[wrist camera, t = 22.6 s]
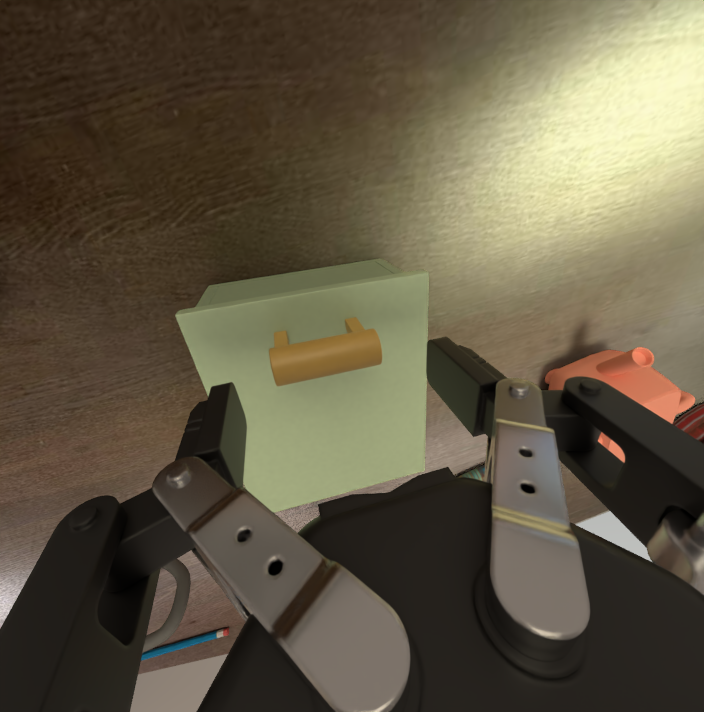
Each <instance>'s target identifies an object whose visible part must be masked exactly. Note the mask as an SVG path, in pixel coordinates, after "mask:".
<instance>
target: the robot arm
mask: <svg viewBox="0 0 704 712" xmlns="http://www.w3.org/2000/svg"><path fill="white" fill-rule="evenodd" d="M426 375H427V379H428V382H429V384H430V385H431V387H432V388H433V389H434V390H435V391H436V393H437V394H438V395H439V396H440V397H441V399H442V400H443V401H444V402H445V403H446V405H447V406H448V407H449V408H450V409H451V411H452V412H453V413H454V414H455V415H456V416H457V418H458V419H459V420H460V421H461V422H462V424H463V425H464V426H465V427H466V428H467V430H468V431H469V432H470V433H471V434H472V436H473V437H474V436H478V435H482V434H486V435H487V436H488V440H487V448H486V461H485V474H484V481H481V480H478V479H473V478H467V477H454V475H453V474H452V472H451V471H450V469H449V467H446V468H443V469H439V470H436V471H432V472H429V473H425V474H422V475H418V476H416V477H415V478H413V479H411V480H410V481H408V482H406V483H405V484H403V485H401V486H399V487H398V488H396V489H394V490H393V491H391V492H388V493H375V494H355V495H349V496H345V497H342V498H338V499H335V500H331V501H328V502H324V503H321V504H318V506H319V512H320V516H318V517H317V518H315V519H313V520H312V521H311V522H309V523H308V524H307V525H306V526H305V527H303V528H302V529H301V530H300V531H299V532H298V533H296V532H295V531H294V530H293V529H292V528H291V527H289V526H288V525H287V524H286V523H285V522H284V521H282V520H281V519H280V518H279V517H278V516H277V515H275V514H274V513H273V512H272V511H271V510H270V509H268V508H267V507H266V506H265V505H264V504H263V503H261V502H260V501H259V500H258V499H257V498H256V497H255V496H253V495H252V494H251V493H250V492H249V491H248V490H246V489H245V488H244V487H243V476H244V463H245V449H246V435H247V422H246V417H245V413H244V410H243V408H242V405H241V402H240V399H239V396H238V394H237V391H236V388H235V385H234V384H233V382H229V383H225V384H220V385H215V386H212V387H211V389H210V393H209V397H208V400H207V401H203V402H199V403H198V404H197V406H196V407H195V408H194V409H193V410H192V411H191V413H190V416H189V419H188V422H187V423H188V424H187V425H186V428H185V433H184V434H183V437H182V440H181V443H180V446H179V449H178V453H177V456H176V459H175V461H174V462H172V463H171V464H169V465H168V466H166V467H165V468H164V469H163V470H161V471H160V473H159V474H158V475H157V476H156V478H155V480H154V482H153V485H152V488H151V489H149V490H147V491H145V492H143V493H141V494H139V495H137V496H135V497H133V498H131V499H129V500H127V501H125V502H123V503H121V504H120V503H119V502H118V501H117V499H116V498H115V497H113V496H100V497H96V498H93V499H91V500H88V501H86V502H85V503H83V504H81V505H79V506H78V507H76V508H75V509H74V510H72V511H71V512H70V513H69V514H68V515H66V516H65V517H64V518H63V519H62V520H61V522H60V523H59V524H58V526H57V527H56V529H55V530H54V532H53V534H52V536H51V538H50V539H49V541H48V543H47V545H46V547H45V549H44V550H43V552H42V554H41V556H40V558H39V559H38V561H37V563H36V565H35V567H34V569H33V570H32V572H31V574H30V576H29V578H28V579H27V581H26V583H25V585H24V587H23V589H22V590H21V592H20V594H19V596H18V598H17V600H16V601H15V603H14V605H13V607H12V609H11V610H10V612H9V614H8V616H7V618H6V620H5V621H4V623H3V625H2V627H1V629H0V712H130V708H131V704H132V699H133V694H134V690H135V685H136V680H137V676H138V671H139V666H140V662H141V657H142V652H143V648H144V643H145V638H146V634H147V629H148V624H149V620H150V615H151V610H152V606H153V601H154V596H155V592H156V587H157V582H158V578H159V573H160V568H162V567H163V566H165V565H167V564H168V563H170V562H172V561H173V560H175V559H177V558H178V557H180V556H182V555H183V554H185V553H187V552H188V551H190V550H192V552H193V553H194V554H195V556H196V557H197V558H198V559H199V561H200V562H201V563H202V565H203V566H204V567H205V568H206V570H207V571H208V572H209V574H210V575H211V576H212V577H213V579H214V580H215V581H216V583H217V584H218V585H219V586H220V588H221V589H222V590H223V592H224V593H225V594H226V596H227V597H228V599H229V600H230V602H231V603H232V604H233V606H234V607H235V608H236V610H237V611H238V613H239V614H240V615H241V617H242V618H243V619H244V620H245V624H244V626H243V628H242V630H241V632H240V633H239V635H238V637H237V639H236V641H235V643H234V644H233V646H232V648H231V650H230V652H229V654H228V655H227V657H226V659H225V661H224V663H223V665H222V666H221V668H220V670H219V672H218V674H217V676H216V677H215V679H214V681H213V683H212V685H211V687H210V688H209V690H208V692H207V694H206V696H205V697H204V699H203V701H202V703H201V705H200V707H199V709H198V710H197V712H704V444H703V443H702V442H700V441H699V440H697V439H695V438H694V437H692V436H691V435H689V434H687V433H686V432H684V431H683V430H681V429H679V428H678V427H676V426H674V425H673V424H671V423H670V422H668V421H666V420H665V419H663V418H662V417H660V416H658V415H657V414H655V413H654V412H652V411H650V410H649V409H647V408H646V407H644V406H642V405H641V404H639V403H638V402H636V401H634V400H633V399H631V398H630V397H628V396H626V395H625V394H623V393H622V392H620V391H618V390H617V389H615V388H613V387H612V386H610V385H609V384H607V383H605V382H603V381H601V380H598V379H595V378H590V377H584V376H576V377H571V378H568V379H567V380H566V381H565V383H564V387H563V390H541V389H540V388H539V387H538V386H537V385H536V384H534V383H532V382H530V381H527V380H524V379H520V378H507V377H505V376H504V375H503V374H502V373H500V372H499V371H498V370H497V369H495V368H494V367H493V366H491V365H490V364H489V363H488V362H487V363H486V361H485V360H484V359H483V358H481V357H479V355H477V354H476V353H475V352H474V351H472V350H471V349H468V348H466V347H463V346H461V345H459V346H457V345H456V344H455V343H454V342H452V341H451V340H450V339H449V338H448V337H442V338H437V339H433V340H429V341H428V342H427V358H426ZM601 432H602V433H603V434H605V435H606V436H607V437H608V438H610V439H611V440H612V441H614V442H615V443H616V444H617V445H618V446H619V447H620V448H621V449H622V451H623V453H624V455H625V462H622V461H621V460H620V459H619V458H618V457H616V456H615V455H614V454H613V453H611V452H610V451H609V450H608V449H607V448H605V447H604V446H603V445H602V444H601V443H599V442H598V439H599V436H600V434H601ZM559 460H560V461H561V462H562V463H563V464H564V465H565V466H566V467H567V468H568V469H569V470H570V471H571V472H572V473H573V474H574V475H575V476H576V477H577V478H578V479H579V480H580V481H581V482H582V483H583V484H584V485H585V486H586V487H587V488H588V489H589V490H590V491H591V492H592V493H593V494H594V495H595V496H596V497H597V498H598V499H599V500H600V501H601V502H602V503H603V504H604V505H605V506H606V507H607V508H608V509H609V510H610V511H611V512H612V513H613V514H614V515H615V516H616V517H617V518H618V519H619V520H620V521H621V522H622V523H623V524H624V525H625V526H626V527H627V528H628V529H629V530H630V531H631V532H632V533H633V534H634V536H636V538H637V539H639V541H641V543H642V544H643V545H645V547H646V548H647V551H648V554H649V556H650V559H651V560H652V562H650V561H648V560H646V559H644V558H642V557H640V556H638V555H636V554H634V553H632V552H630V551H628V550H626V549H624V548H622V547H620V546H617V545H615V544H614V543H612V542H609V541H607V540H605V539H603V538H601V537H599V536H597V535H595V534H593V533H591V532H589V531H587V530H585V529H583V528H580V527H579V526H576V525H575V524H573V523H570V522H569V516H568V510H567V504H566V498H565V492H564V486H563V480H562V474H561V468H560V462H559Z"/></svg>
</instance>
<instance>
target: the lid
mask: <svg viewBox="0 0 704 712" xmlns="http://www.w3.org/2000/svg"><path fill="white" fill-rule="evenodd" d="M428 295H429V272H428V271H426V270H424V269H421V270H415V271H410V272H404V273H398V274H392V275H386V276H380V277H374V278H368V279H362V280H356V281H350V282H344V283H338V284H332V285H326V286H320V287H314V288H308V289H302V290H296V291H290V292H284V293H278V294H272V295H266V296H260V297H254V298H249V299H243V300H237V301H231V302H225V303H219V304H213V305H207V306H201V307H195V308H189V309H183V310H179V311H178V312H177V314H176V315H175V316H176V319H177V321H178V324H179V326H180V329H181V331H182V334H183V336H184V338H185V341H186V343H187V346H188V348H189V351H190V353H191V356H192V358H193V361H194V363H195V365H196V368H197V370H198V373H199V375H200V378H201V380H202V383H203V385H204V388H205V390H206V392H207V395H208V397H209V393H210V389H211V387H212V386H215V385H220V384H225V383H229V382H233V384H234V385H235V388H236V391H237V394H238V396H239V399H240V402H241V405H242V408H243V410H244V413H245V417H246V422H247V435H246V449H245V463H244V476H243V483H244V486H245V488H246V490H248V491H249V492H250V493H251V494H252V495H253V496H255V497H256V498H257V499H258V500H259V501H260V502H261V503H263V504H264V505H265V506H266V507H267V508H268V509H270V510H271V511H272V512H273V513H275V512H278V511H282V510H286V509H289V508H293V507H296V506H300V505H304V504H307V503H311V502H314V501H318V500H322V499H325V498H329V497H332V496H336V495H339V494H343V493H347V492H350V491H354V490H357V489H361V488H365V487H368V486H372V485H375V484H379V483H383V482H386V481H390V480H393V479H397V478H401V477H404V476H408V475H411V474H415V473H419V472H422V471H425V432H426V387H427V375H426V358H427V341H428Z"/></svg>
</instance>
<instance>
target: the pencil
mask: <svg viewBox="0 0 704 712" xmlns="http://www.w3.org/2000/svg"><path fill="white" fill-rule="evenodd" d="M228 634H229V628H225V629H222V630H218V631H215V632H212V633H208V634H205V635H201V636H198V637H194V638H191V639H188V640H184V641H181V642H177V643H174V644H171V645H167V646H164V647H160V648H157V649H153V650H150V651H147V652H144V653H142V657H141V661H142V660H145V659H148V658H152V657H155V656H158V655H162V654H165V653H168V652H172V651H175V650H179V649H182V648H185V647H189V646H192V645H195V644H199V643H202V642H206V641H209V640H212V639H216V638H219V637H222V636H226V635H228Z"/></svg>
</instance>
